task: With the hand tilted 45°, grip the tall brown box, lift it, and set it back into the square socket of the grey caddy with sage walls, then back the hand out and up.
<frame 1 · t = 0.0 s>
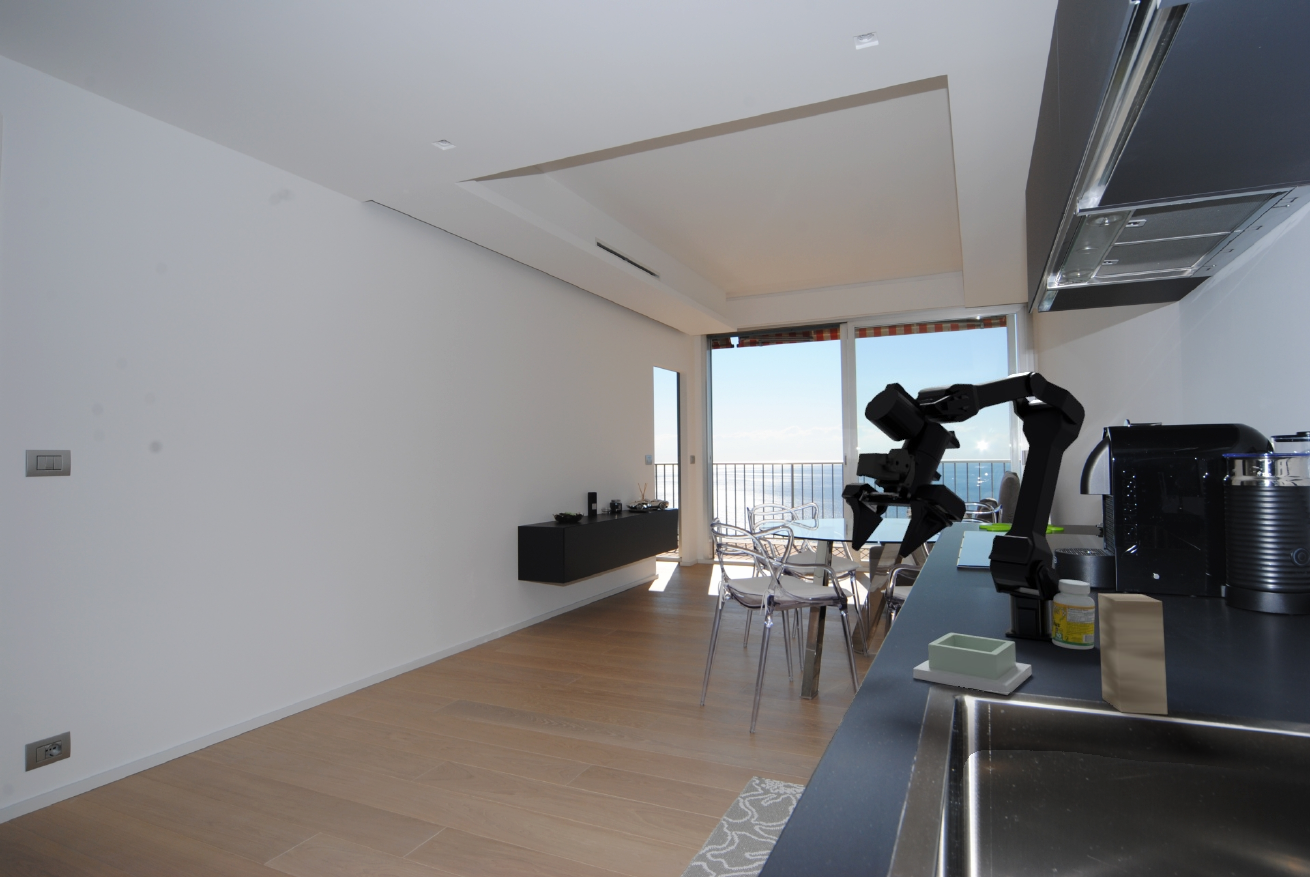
hand: (877, 553, 96), 15 cm above the kitchen counter, tool tilted 35°, fingers open, 9 cm apart
caddy: (972, 676, 88), on the kitchen counter
brown box: (1133, 706, 77), on the kitchen counter
supplement bottle: (1072, 647, 103), on the kitchen counter, touching arm
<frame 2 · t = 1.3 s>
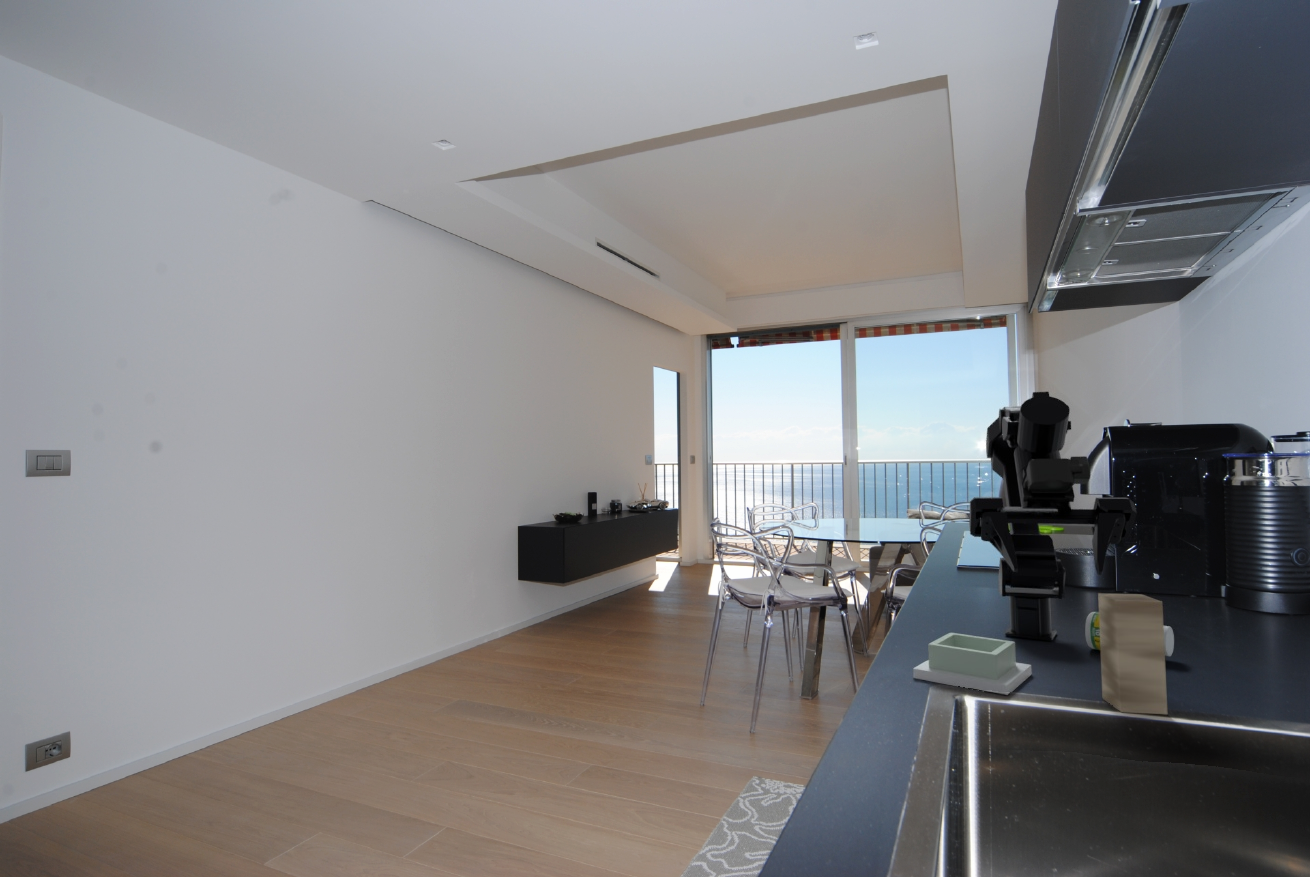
hand: (1057, 571, 85), 14 cm above the kitchen counter, tool tilted 40°, fingers open, 9 cm apart
supplement bottle: (1089, 629, 101), point 3 cm above the kitchen counter
everything else where it was.
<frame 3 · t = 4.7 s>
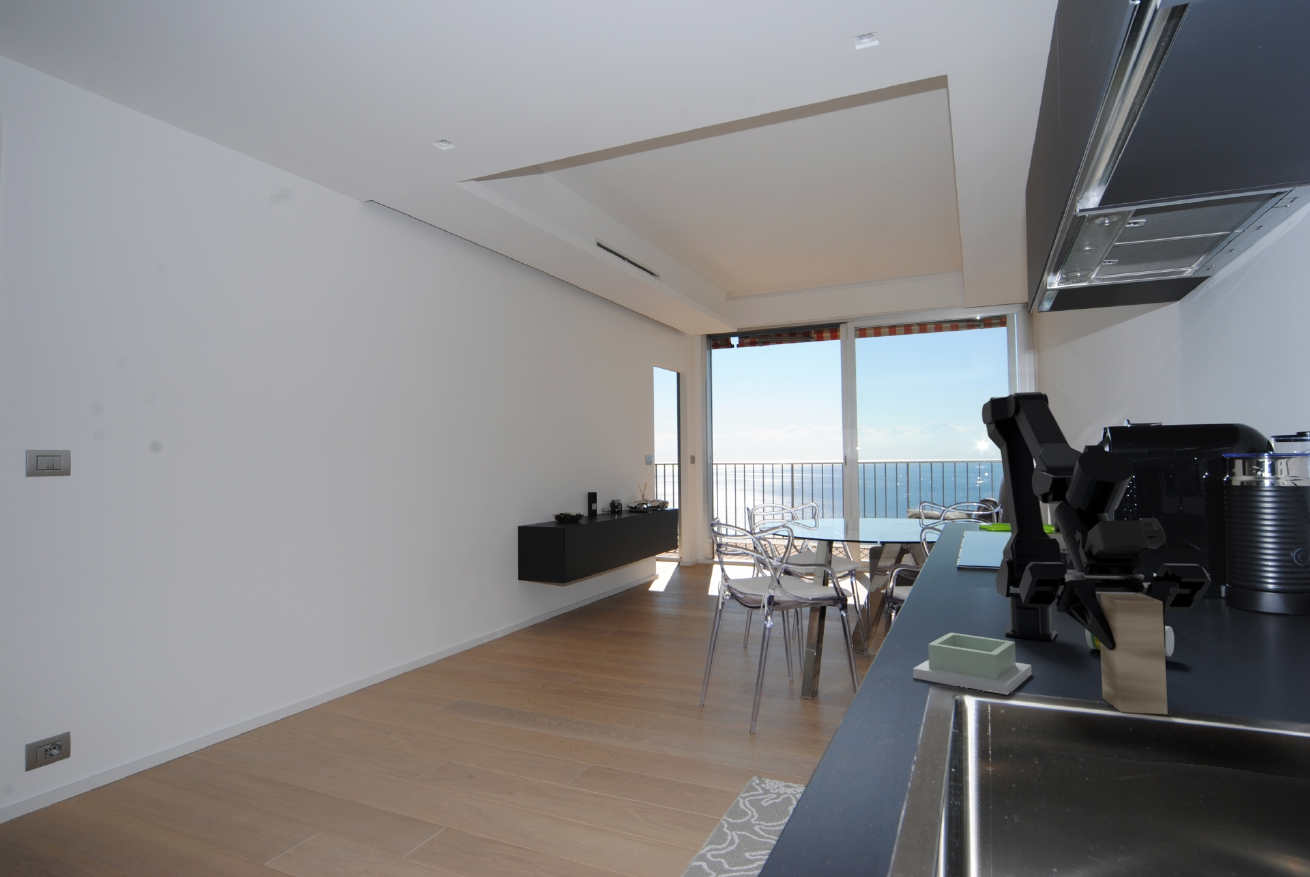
hand: (1137, 649, 76), 7 cm above the kitchen counter, tool tilted 45°, fingers closed on brown box, 4 cm apart
brown box: (1134, 706, 77), on the kitchen counter, touching gripper
everything else where it was.
when the fingers open (9 cm above the kitchen counter, at t = 10.0 s): brown box drops 1 cm, resting on caddy.
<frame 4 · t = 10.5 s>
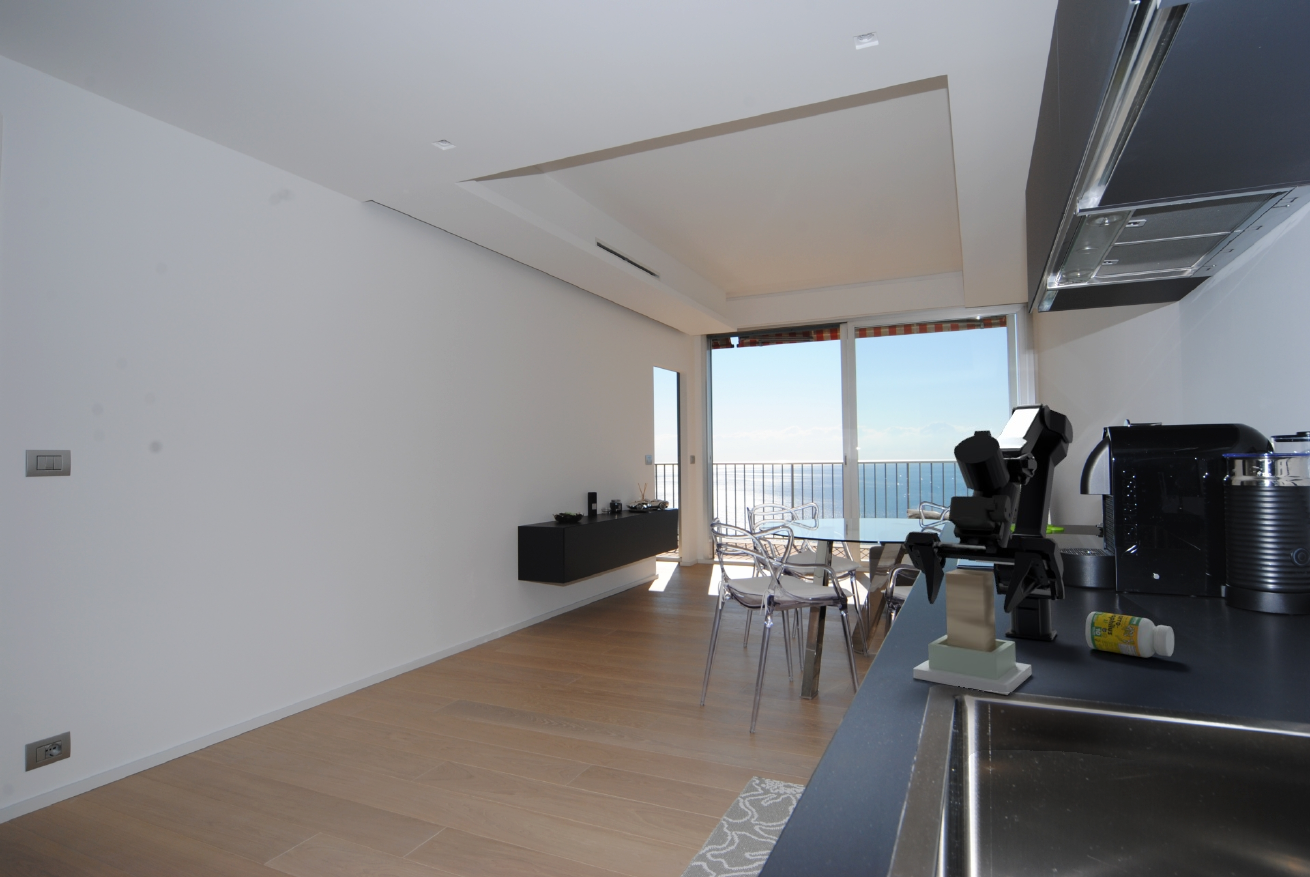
hand: (966, 606, 88), 9 cm above the kitchen counter, tool tilted 45°, fingers open, 9 cm apart
brown box: (972, 666, 88), point 1 cm above the kitchen counter, touching caddy
everything else where it was.
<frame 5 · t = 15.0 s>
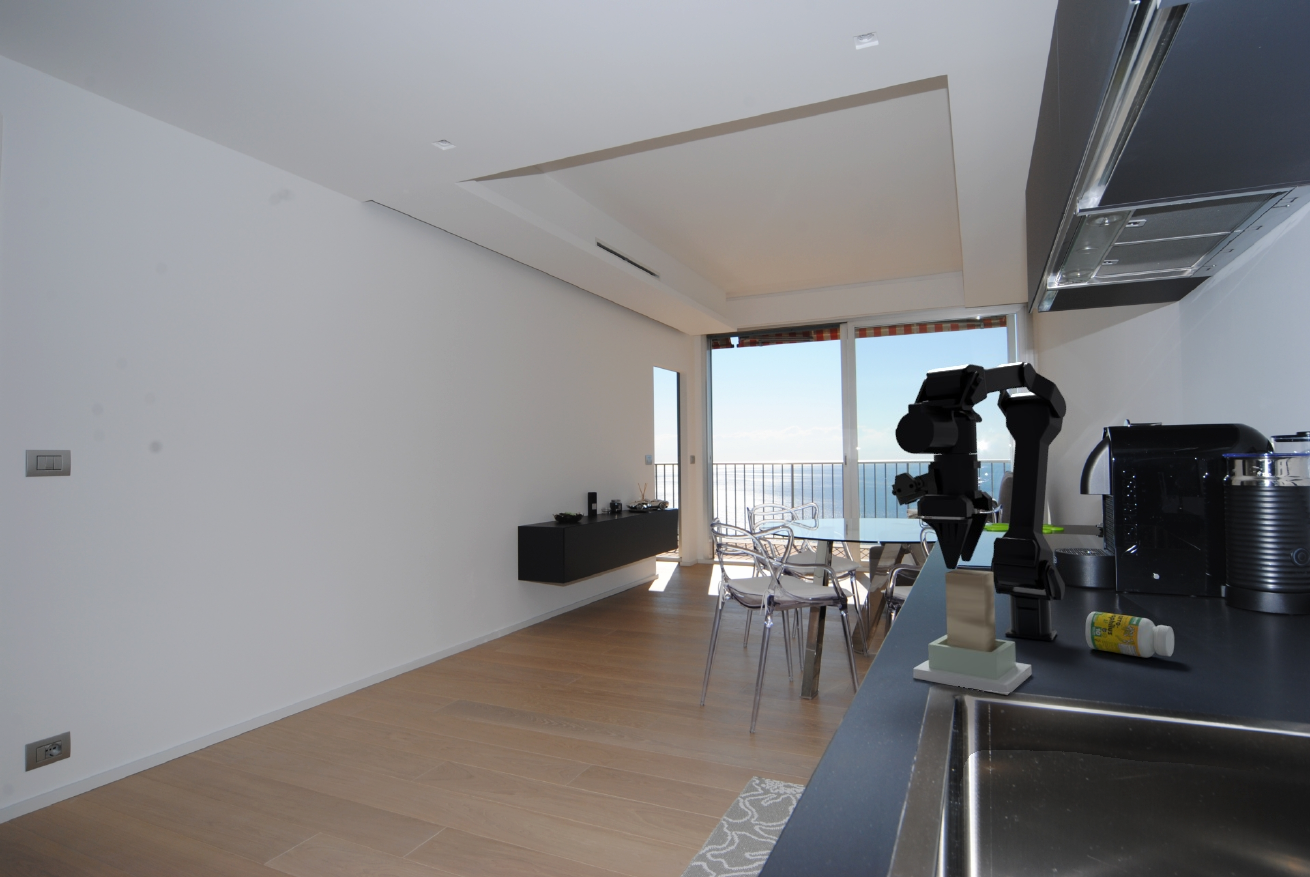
hand: (958, 565, 97), 13 cm above the kitchen counter, tool pointing down, fingers open, 9 cm apart
nothing on the kitchen counter moved.
at the end: brown box 0.0 cm off-centre on the caddy, point 1.2 cm above the caddy's base; brown box tilted 0°; the gripper is holding nothing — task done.
